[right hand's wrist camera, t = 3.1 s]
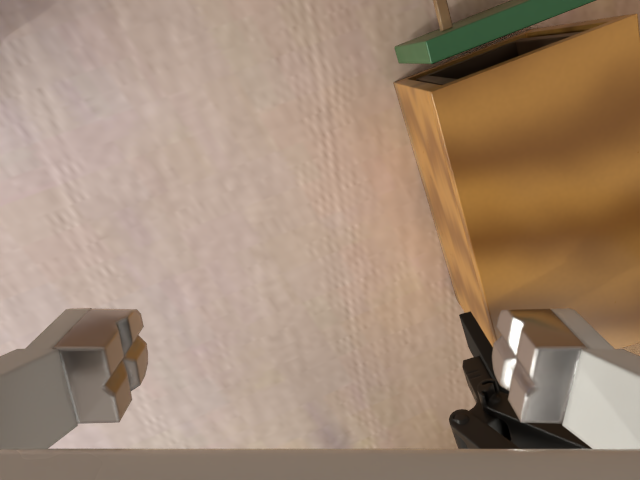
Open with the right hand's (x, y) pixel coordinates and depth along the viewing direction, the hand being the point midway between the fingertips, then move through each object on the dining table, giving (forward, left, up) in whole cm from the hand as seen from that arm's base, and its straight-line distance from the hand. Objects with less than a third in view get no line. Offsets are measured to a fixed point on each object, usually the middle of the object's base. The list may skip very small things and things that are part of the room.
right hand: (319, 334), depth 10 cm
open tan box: (+11, +10, -27) cm, 31 cm away
